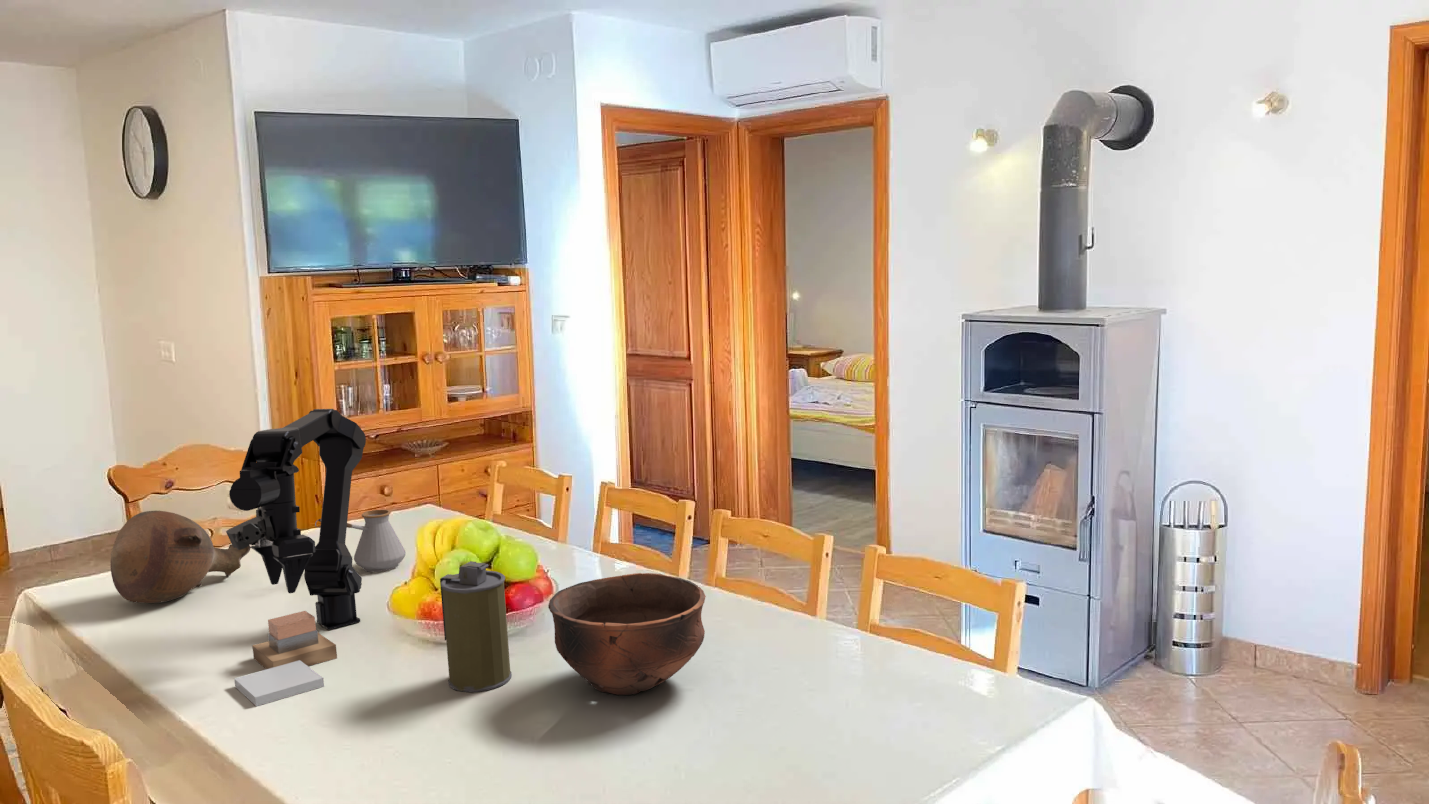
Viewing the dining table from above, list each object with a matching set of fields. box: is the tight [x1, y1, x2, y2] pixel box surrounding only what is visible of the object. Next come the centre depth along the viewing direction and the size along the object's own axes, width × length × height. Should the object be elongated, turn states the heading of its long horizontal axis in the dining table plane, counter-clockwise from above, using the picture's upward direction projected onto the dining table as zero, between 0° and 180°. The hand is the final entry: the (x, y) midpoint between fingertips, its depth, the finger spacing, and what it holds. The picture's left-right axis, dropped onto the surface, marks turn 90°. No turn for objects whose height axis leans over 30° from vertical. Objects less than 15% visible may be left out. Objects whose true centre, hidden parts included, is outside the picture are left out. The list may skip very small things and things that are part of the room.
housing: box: [267, 610, 319, 654], centre depth 192 cm, size 7×5×5 cm
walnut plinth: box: [251, 632, 338, 670], centre depth 193 cm, size 11×11×2 cm
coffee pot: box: [314, 509, 407, 573], centre depth 243 cm, size 21×12×15 cm, turn 146°
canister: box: [439, 560, 513, 693], centre depth 179 cm, size 11×10×20 cm
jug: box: [110, 510, 252, 604], centre depth 232 cm, size 20×20×30 cm
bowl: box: [547, 572, 707, 696], centre depth 175 cm, size 25×25×15 cm
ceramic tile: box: [233, 660, 325, 707], centre depth 180 cm, size 11×11×2 cm
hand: (282, 588), depth 191 cm, fingers open, 9 cm apart
